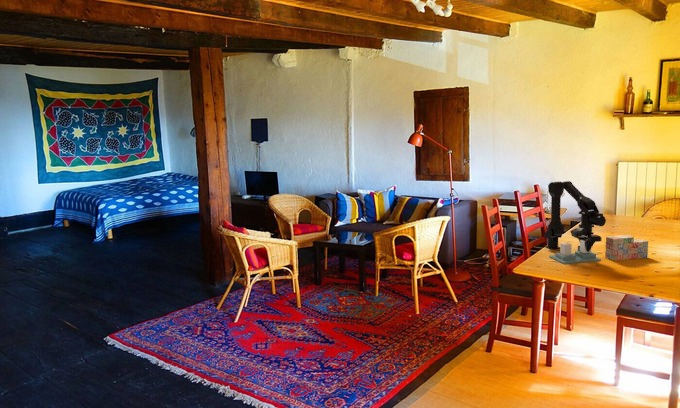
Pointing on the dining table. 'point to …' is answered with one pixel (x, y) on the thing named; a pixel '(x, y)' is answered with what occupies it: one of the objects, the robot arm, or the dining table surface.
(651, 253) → the dining table surface
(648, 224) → the dining table surface
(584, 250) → the steel billet
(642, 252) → the stack of blocks
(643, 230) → the dining table surface
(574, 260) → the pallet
